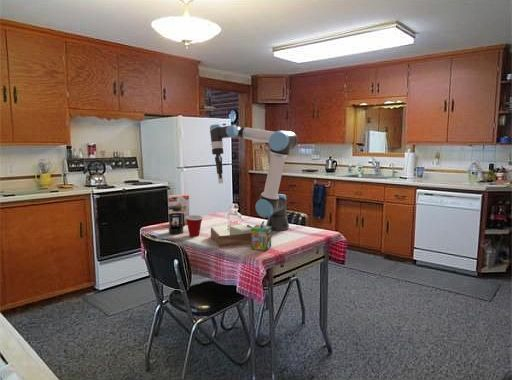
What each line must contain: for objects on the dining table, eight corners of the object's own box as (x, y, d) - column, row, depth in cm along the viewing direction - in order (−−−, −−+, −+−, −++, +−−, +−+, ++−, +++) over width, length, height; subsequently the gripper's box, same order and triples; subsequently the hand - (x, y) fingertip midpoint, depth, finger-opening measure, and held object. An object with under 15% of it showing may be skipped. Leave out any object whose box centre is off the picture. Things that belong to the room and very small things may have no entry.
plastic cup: (196, 238, 219) (195, 219, 217) (182, 236, 224) (181, 217, 222) (207, 234, 228) (206, 215, 226) (193, 232, 233) (192, 214, 232)
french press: (173, 235, 227) (172, 199, 224) (164, 233, 233) (163, 197, 230) (188, 231, 236) (187, 196, 232) (179, 229, 242) (178, 195, 238)
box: (210, 237, 221) (210, 227, 220) (248, 233, 229) (248, 224, 228) (219, 247, 201) (219, 236, 200) (260, 242, 209) (260, 232, 208)
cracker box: (169, 226, 251) (168, 196, 249) (169, 224, 257) (168, 195, 254) (190, 225, 255) (189, 195, 252) (189, 223, 260) (188, 194, 258)
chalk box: (255, 244, 205) (255, 219, 203) (271, 246, 202) (271, 219, 200) (250, 249, 196) (250, 222, 194) (267, 251, 193) (267, 223, 191)
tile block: (229, 239, 218) (229, 226, 217) (239, 237, 222) (239, 224, 221) (243, 244, 207) (243, 230, 206) (253, 242, 211) (253, 228, 210)
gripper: (210, 149, 248) (213, 183, 250) (213, 147, 236) (216, 184, 237) (221, 148, 250) (224, 182, 252) (224, 147, 238) (228, 183, 239)
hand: (220, 183), depth 244 cm, fingers closed
